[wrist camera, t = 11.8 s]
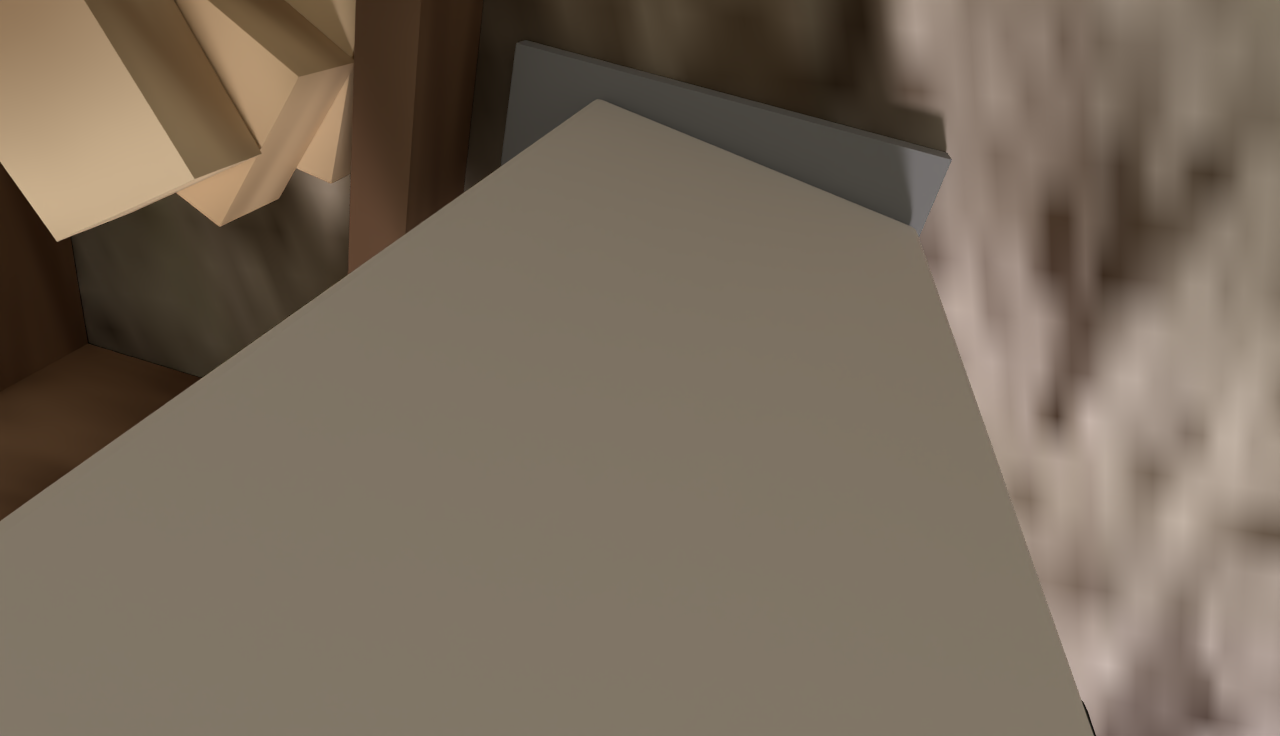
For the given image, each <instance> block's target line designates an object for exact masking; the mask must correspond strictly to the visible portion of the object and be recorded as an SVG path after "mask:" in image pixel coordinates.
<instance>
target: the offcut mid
mask: <svg viewBox="0 0 1280 736" xmlns="http://www.w3.org/2000/svg"><path fill="white" fill-rule="evenodd" d="M174 2H175V3H176V5H177V7H178V9H179V10H180V12H181V14H182V16H183V17H184V19H185V21H186V23H187V24H188V26H189V28H190V30H191V31H192V33H193V35H194V36H195V38H196V40H197V42H198V43H199V45H200V47H201V49H202V50H203V52H204V54H205V56H206V57H207V59H208V61H209V63H210V64H211V66H212V68H213V69H214V71H215V73H216V75H217V76H218V78H219V80H220V82H221V83H222V85H223V87H224V89H225V90H226V92H227V94H228V96H229V97H230V99H231V101H232V102H233V104H234V106H235V108H236V109H237V111H238V113H239V115H240V116H241V118H242V120H243V122H244V123H245V125H246V127H247V129H248V130H249V132H250V134H251V135H252V137H253V139H254V141H255V142H256V144H257V146H258V148H259V149H260V151H261V153H262V154H260V155H258V156H256V157H254V158H251V159H249V160H247V161H245V162H243V163H240V164H238V165H236V166H234V167H232V168H229V169H227V170H225V171H223V172H220V173H218V174H216V175H214V176H212V177H209V178H207V179H205V180H203V181H200V182H198V183H196V184H194V185H192V186H189V187H187V188H185V189H183V190H181V191H178V192H176V193H177V194H178V195H180V196H181V197H182V198H183V199H185V200H186V201H187V202H188V203H190V204H191V205H192V206H194V207H195V208H196V209H197V210H199V211H200V212H201V213H202V214H204V215H205V216H206V217H208V218H209V219H210V220H211V221H213V222H214V223H215V224H216V225H218V226H219V227H220V226H223V225H225V224H227V223H229V222H231V221H233V220H235V219H237V218H239V217H241V216H244V215H246V214H248V213H250V212H252V211H254V210H256V209H258V208H260V207H263V206H265V205H267V204H269V203H271V202H273V201H275V200H277V199H279V198H280V196H281V194H282V192H283V191H284V189H285V187H286V185H287V183H288V182H289V180H290V178H291V176H292V175H293V173H294V171H295V169H296V168H297V166H298V164H299V162H300V161H301V159H302V157H303V155H304V154H305V152H306V150H307V148H308V146H309V145H310V143H311V141H312V139H313V138H314V136H315V134H316V132H317V131H318V129H319V127H320V125H321V124H322V122H323V120H324V118H325V116H326V115H327V113H328V111H329V109H330V108H331V106H332V104H333V102H334V101H335V99H336V97H337V95H338V94H339V92H340V90H341V88H342V86H343V85H344V83H345V81H346V79H347V78H348V76H349V74H350V72H351V71H352V69H353V67H354V60H353V59H352V58H351V57H350V56H349V55H348V54H347V53H345V52H344V51H343V50H342V49H341V48H340V47H338V46H337V45H336V44H335V43H334V42H333V41H331V40H330V39H329V38H328V37H327V36H326V35H324V34H323V33H322V32H321V31H320V30H319V29H318V28H316V27H315V26H314V25H313V24H312V23H311V22H309V21H308V20H307V19H306V18H305V17H304V16H302V15H301V14H300V13H299V12H298V11H297V10H295V9H294V8H293V7H292V6H291V5H290V4H289V3H287V2H286V1H285V0H174Z"/></svg>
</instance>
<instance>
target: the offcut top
mask: <svg viewBox="0 0 1280 736" xmlns="http://www.w3.org/2000/svg"><path fill="white" fill-rule="evenodd" d="M260 154H262V153H261V151H260V149H259V148H258V146H257V144H256V142H255V141H254V139H253V137H252V135H251V134H250V132H249V130H248V129H247V127H246V125H245V123H244V122H243V120H242V118H241V116H240V115H239V113H238V111H237V109H236V108H235V106H234V104H233V102H232V101H231V99H230V97H229V96H228V94H227V92H226V90H225V89H224V87H223V85H222V83H221V82H220V80H219V78H218V76H217V75H216V73H215V71H214V69H213V68H212V66H211V64H210V63H209V61H208V59H207V57H206V56H205V54H204V52H203V50H202V49H201V47H200V45H199V43H198V42H197V40H196V38H195V36H194V35H193V33H192V31H191V30H190V28H189V26H188V24H187V23H186V21H185V19H184V17H183V16H182V14H181V12H180V10H179V9H178V7H177V5H176V3H175V2H174V0H0V162H1V164H2V165H3V166H4V168H5V169H6V171H7V172H8V173H9V175H10V176H11V178H12V179H13V180H14V182H15V183H16V185H17V186H18V187H19V189H20V190H21V192H22V193H23V195H24V196H25V197H26V199H27V200H28V202H29V203H30V204H31V206H32V207H33V209H34V210H35V211H36V213H37V214H38V216H39V217H40V218H41V220H42V221H43V223H44V224H45V225H46V227H47V228H48V230H49V231H50V233H51V234H52V235H53V237H54V238H55V240H56V241H57V242H58V241H60V240H63V239H65V238H68V237H70V236H73V235H75V234H78V233H81V232H83V231H86V230H88V229H91V228H93V227H96V226H99V225H101V224H104V223H106V222H109V221H111V220H114V219H116V218H119V217H122V216H124V215H127V214H129V213H132V212H134V211H136V210H138V209H141V208H143V207H145V206H147V205H150V204H152V203H154V202H156V201H158V200H161V199H163V198H165V197H167V196H169V195H172V194H174V193H176V192H178V191H181V190H183V189H185V188H187V187H189V186H192V185H194V184H196V183H198V182H200V181H203V180H205V179H207V178H209V177H212V176H214V175H216V174H218V173H220V172H223V171H225V170H227V169H229V168H232V167H234V166H236V165H238V164H240V163H243V162H245V161H247V160H249V159H251V158H254V157H256V156H258V155H260Z"/></svg>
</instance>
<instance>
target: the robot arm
mask: <svg viewBox="0 0 1280 736" xmlns="http://www.w3.org/2000/svg"><path fill="white" fill-rule="evenodd" d="M1081 701H1082V700H1081ZM1082 703H1083V701H1082ZM1083 706H1084V709H1085V712H1086V715H1087V718H1088V721H1089V723H1090V726H1091V729H1092V732H1093V735H1094V736H1096V735H1095V732H1094V729H1093V726H1092V723H1091V720H1090V717H1089V714H1088V711H1087V709H1086V707H1085V705H1084V703H1083Z"/></svg>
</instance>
